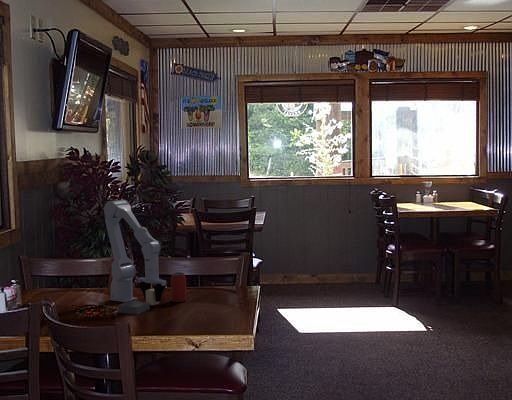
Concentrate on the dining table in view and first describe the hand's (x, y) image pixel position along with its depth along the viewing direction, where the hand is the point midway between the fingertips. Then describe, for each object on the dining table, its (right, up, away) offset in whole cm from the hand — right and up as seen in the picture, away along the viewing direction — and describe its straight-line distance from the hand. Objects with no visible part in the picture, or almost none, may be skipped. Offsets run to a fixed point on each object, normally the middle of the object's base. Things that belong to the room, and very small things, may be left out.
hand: (152, 300), depth 291 cm
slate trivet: (-6, -2, -13) cm, 14 cm away
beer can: (+11, -1, +5) cm, 12 cm away
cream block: (0, -2, 0) cm, 2 cm away
